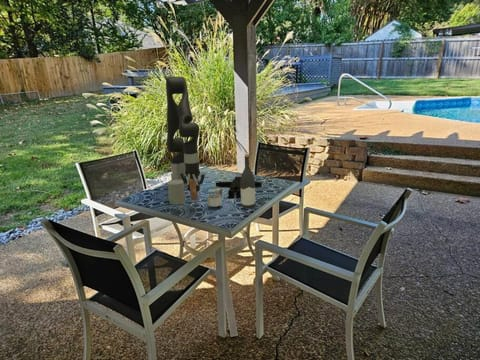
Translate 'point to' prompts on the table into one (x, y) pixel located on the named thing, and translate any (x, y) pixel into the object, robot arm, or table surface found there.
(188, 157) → the robot arm
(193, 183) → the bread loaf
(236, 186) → the toy
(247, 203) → the wine bottle
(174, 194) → the speckled stone cylinder
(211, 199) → the mug
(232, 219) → the table surface
